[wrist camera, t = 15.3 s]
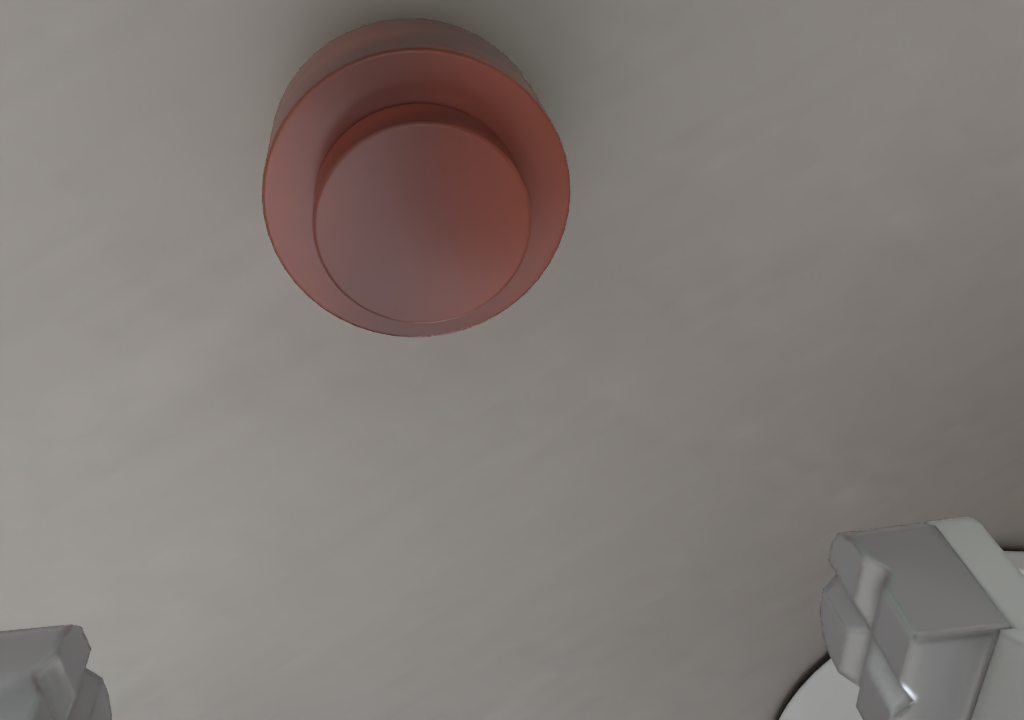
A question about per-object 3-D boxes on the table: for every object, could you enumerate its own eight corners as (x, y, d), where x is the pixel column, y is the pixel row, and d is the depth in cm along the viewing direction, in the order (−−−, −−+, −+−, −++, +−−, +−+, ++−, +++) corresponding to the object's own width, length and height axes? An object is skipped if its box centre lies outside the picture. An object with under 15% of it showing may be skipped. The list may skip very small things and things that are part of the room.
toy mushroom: (525, -16, 23) (587, 55, 17) (527, 225, 26) (579, 352, 20) (260, -5, 22) (230, 74, 16) (295, 242, 25) (282, 380, 20)
